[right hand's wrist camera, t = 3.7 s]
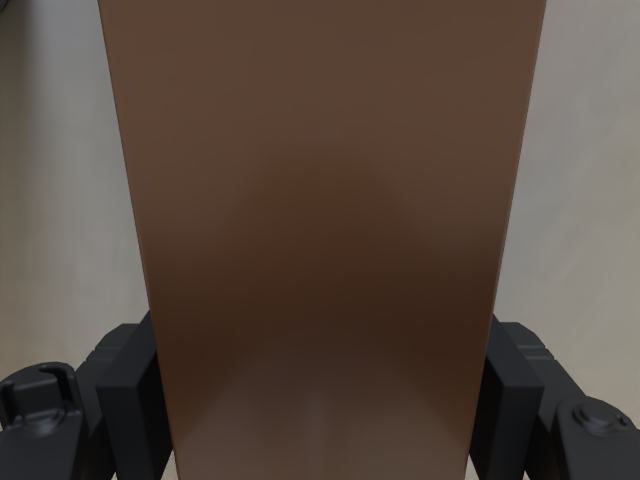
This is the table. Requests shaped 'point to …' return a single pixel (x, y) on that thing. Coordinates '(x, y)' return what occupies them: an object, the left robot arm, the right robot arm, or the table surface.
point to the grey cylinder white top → (2, 4)
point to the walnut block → (321, 222)
